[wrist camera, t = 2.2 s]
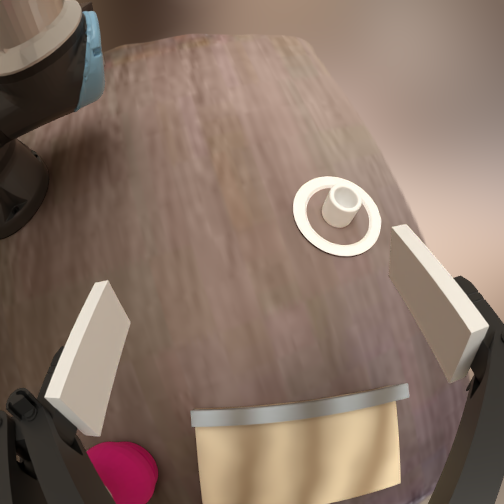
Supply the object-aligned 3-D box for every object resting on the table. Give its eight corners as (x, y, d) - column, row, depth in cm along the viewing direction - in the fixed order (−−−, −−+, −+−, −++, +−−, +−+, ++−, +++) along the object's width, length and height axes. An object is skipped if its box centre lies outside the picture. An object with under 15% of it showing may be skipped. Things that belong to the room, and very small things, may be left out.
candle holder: (390, 212, 42) (403, 195, 38) (355, 277, 37) (369, 262, 33) (320, 166, 44) (327, 145, 40) (273, 221, 40) (279, 202, 36)
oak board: (205, 512, 24) (202, 527, 20) (195, 408, 29) (190, 410, 25) (394, 480, 26) (414, 488, 22) (387, 386, 31) (407, 383, 27)
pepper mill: (160, 440, 27) (77, 491, 9) (165, 501, 24) (103, 598, 6) (96, 433, 27) (-30, 452, 9) (101, 492, 24) (-6, 555, 6)
